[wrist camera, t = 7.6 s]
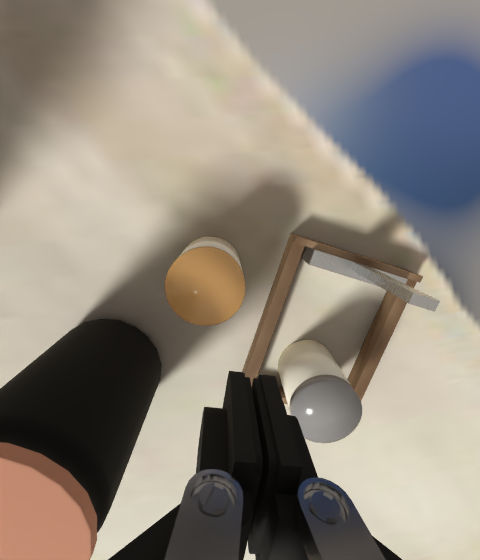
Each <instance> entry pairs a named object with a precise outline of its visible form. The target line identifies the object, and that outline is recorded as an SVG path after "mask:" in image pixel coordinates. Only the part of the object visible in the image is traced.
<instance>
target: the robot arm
mask: <svg viewBox="0 0 480 560" xmlns="http://www.w3.org/2000/svg"><path fill="white" fill-rule="evenodd" d="M247 541H248V549H249V553H250V554H255V556H256V560H402V559H401V558H400V557H398V556H397V555H396V554H395V553H393V552H392V551H391V550H389V549H388V548H387V547H386V546H384V545H383V544H382V543H381V542H379V541H378V540H377V539H375V538H374V537H373V536H372V535H371V533H370V532H369V530H368V528H367V526H366V525H365V523H364V521H363V520H362V518H361V516H360V514H359V513H358V511H357V509H356V507H355V506H354V504H353V502H352V500H351V499H350V498H349V496H348V495H347V494H346V492H345V491H344V490H342V489H341V488H340V487H339V486H338V485H336V484H335V483H333V482H331V481H329V480H326V479H323V478H318V476H317V473H316V470H315V468H314V465H313V462H312V459H311V456H310V453H309V450H308V447H307V444H306V442H305V439H304V436H303V433H302V430H301V427H300V424H299V421H298V419H297V417H296V416H291V415H287V413H286V409H285V406H284V403H283V400H282V396H281V393H280V390H279V386H278V383H277V380H276V377H275V376H270V375H261V374H260V375H259V378H254V379H253V382H252V387H251V381H250V377H245V373H243V372H235V371H229V374H228V379H227V385H226V391H225V397H224V403H223V409H221V408H211V407H204V411H203V417H202V424H201V431H200V438H199V447H198V457H197V467H196V474H195V475H194V476H193V477H192V478H191V479H190V480H189V482H188V484H187V486H186V488H185V491H184V494H183V498H182V501H181V503H180V504H179V505H178V506H177V507H175V508H174V509H173V510H171V511H170V512H169V513H168V514H166V515H165V516H164V517H162V518H161V519H160V520H159V521H157V522H156V523H155V524H153V525H152V526H151V527H150V528H148V529H147V530H146V531H144V532H143V533H142V534H141V535H139V536H138V537H137V538H135V539H134V540H133V541H132V542H130V543H129V544H128V545H126V546H125V547H124V548H123V549H121V550H120V551H119V552H117V553H116V554H115V555H114V556H112V557H111V558H110V559H108V560H243V559H244V554H245V550H246V545H247Z"/></svg>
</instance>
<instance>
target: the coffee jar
mask: <svg viewBox="0 0 480 560" xmlns="http://www.w3.org/2000/svg"><path fill="white" fill-rule="evenodd" d="M160 376H161V362H160V359H159V356H158V352H157V349H156V348H155V346H154V345H153V343H152V342H151V340H150V339H149V338H148V336H146V335H145V334H144V333H143V332H141V331H140V330H139V329H137V328H136V327H135V326H132V325H130V324H127V323H125V322H122V321H119V320H109V319H99V320H94V321H89V322H85V323H83V324H81V325H79V326H78V327H76V328H74V329H72V330H71V331H69V332H68V333H67V334H66V335H65V336H63V337H62V338H61V339H60V340H59V341H57V342H56V343H55V344H54V345H53V346H51V347H50V348H49V349H48V350H47V351H45V352H44V353H43V354H42V355H41V356H39V357H38V358H37V359H36V360H34V361H33V362H32V363H31V364H30V365H28V366H27V367H26V368H25V369H24V370H22V371H21V372H20V373H19V374H18V375H16V376H15V377H14V378H13V379H12V380H10V381H9V382H8V383H7V384H6V385H4V386H3V387H2V388H1V389H0V560H90V558H91V556H92V554H93V551H94V548H95V544H96V541H97V532H98V531H99V530H100V528H101V527H102V525H103V523H104V521H105V519H106V517H107V514H108V512H109V510H110V508H111V506H112V503H113V500H114V498H115V495H116V493H117V490H118V487H119V485H120V482H121V480H122V477H123V474H124V472H125V469H126V467H127V464H128V461H129V459H130V456H131V454H132V451H133V448H134V446H135V443H136V441H137V438H138V436H139V433H140V430H141V428H142V425H143V423H144V420H145V417H146V415H147V412H148V410H149V407H150V404H151V402H152V399H153V397H154V394H155V391H156V389H157V386H158V384H159V381H160Z"/></svg>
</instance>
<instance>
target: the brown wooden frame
mask: <svg viewBox="0 0 480 560" xmlns="http://www.w3.org/2000/svg"><path fill="white" fill-rule="evenodd" d="M305 246H306V247H310V248H313V249H316V250H319V251H322V252H325V253H329V254H332V255H335V256H338V257H341V258H344V259H348V260H351V261H354V262H357V263H360V264H363V265H367V266H370V267H373V268H376V269H379V270H382V271H386V272H389V273H392V274H395V275H398V276H401V277H404V278H406V279H408V280H407V282H406V285H408V286H410V287H412V288H414V287H415V285H416V282H421V280H422V278H423V276H420V275H418V274H415V273H413V272H410V271H408V270H405V269H402V268H399V267H395V266H392V265H389V264H386V263H383V262H380V261H377V260H373V259H370V258H367V257H364V256H361V255H358V254H355V253H351V252H348V251H345V250H342V249H339V248H336V247H333V246H329V245H326V244H323V243H320V242H317V241H314V240H311V239H307V238H304V237H301V236H298V235H295V234H292V233H291V234H290V237H289V240H288V243H287V246H286V249H285V251H284V254H283V257H282V260H281V263H280V266H279V269H278V271H277V274H276V277H275V280H274V283H273V286H272V288H271V291H270V294H269V297H268V300H267V303H266V305H265V308H264V311H263V314H262V317H261V320H260V323H259V325H258V328H257V331H256V334H255V337H254V340H253V342H252V345H251V348H250V351H249V354H248V357H247V359H246V362H245V365H244V368H243V371H242V372H243V373H245V377H250V381H251V387H252V382H253V379H254V378H257V375H258V373H259V370H260V367H261V364H262V362H263V359H264V356H265V353H266V351H267V348H268V345H269V343H270V340H271V337H272V334H273V332H274V329H275V326H276V323H277V321H278V318H279V315H280V313H281V310H282V307H283V304H284V302H285V299H286V296H287V293H288V291H289V288H290V285H291V282H292V280H293V277H294V274H295V272H296V269H297V266H298V263H299V261H300V258H301V255H302V252H303V250H304V247H305ZM406 304H407V302H405V301H403V300H402V299H400V298H398V297H397V296H395V295H393V294H392V293H390V292H388V291H387V292H386V294H385V297H384V299H383V301H382V303H381V306H380V308H379V310H378V312H377V315H376V317H375V319H374V321H373V324H372V326H371V328H370V330H369V332H368V335H367V337H366V339H365V341H364V344H363V346H362V348H361V350H360V353H359V355H358V357H357V359H356V362H355V364H354V366H353V368H352V371H351V373H350V375H349V377H348V379H347V380H348V381H349V383H350V385H351V386H352V388H353V389H354V391H355V392H356V394H357V395H358V397H359V399H360V401H361V400H362V398H363V396H364V394H365V391H366V389H367V387H368V385H369V383H370V381H371V379H372V376H373V374H374V372H375V370H376V368H377V366H378V364H379V361H380V359H381V357H382V355H383V353H384V351H385V349H386V347H387V344H388V342H389V340H390V338H391V336H392V334H393V332H394V329H395V327H396V325H397V323H398V321H399V319H400V317H401V314H402V312H403V310H404V308H405V306H406ZM279 390H280V393H281V396H282V400H283V403H285V404H288V403H287V400H286V396H285V392H284V389H283V387H280V386H279Z"/></svg>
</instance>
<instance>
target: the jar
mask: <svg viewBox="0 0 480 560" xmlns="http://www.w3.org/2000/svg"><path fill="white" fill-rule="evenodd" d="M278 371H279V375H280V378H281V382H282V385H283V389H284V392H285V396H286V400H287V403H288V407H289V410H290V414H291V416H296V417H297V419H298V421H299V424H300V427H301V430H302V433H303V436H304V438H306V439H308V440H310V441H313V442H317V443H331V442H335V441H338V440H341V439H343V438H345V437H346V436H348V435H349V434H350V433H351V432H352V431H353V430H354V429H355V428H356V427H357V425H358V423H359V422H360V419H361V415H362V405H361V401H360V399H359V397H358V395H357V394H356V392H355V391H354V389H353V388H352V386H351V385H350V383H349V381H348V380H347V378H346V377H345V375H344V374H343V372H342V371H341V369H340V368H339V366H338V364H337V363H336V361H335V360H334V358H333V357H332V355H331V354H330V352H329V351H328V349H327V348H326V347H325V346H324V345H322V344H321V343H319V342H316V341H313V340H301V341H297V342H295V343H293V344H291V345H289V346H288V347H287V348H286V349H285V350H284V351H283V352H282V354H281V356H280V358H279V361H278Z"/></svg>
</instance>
